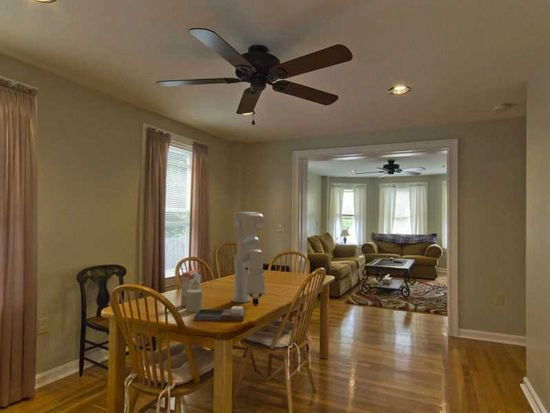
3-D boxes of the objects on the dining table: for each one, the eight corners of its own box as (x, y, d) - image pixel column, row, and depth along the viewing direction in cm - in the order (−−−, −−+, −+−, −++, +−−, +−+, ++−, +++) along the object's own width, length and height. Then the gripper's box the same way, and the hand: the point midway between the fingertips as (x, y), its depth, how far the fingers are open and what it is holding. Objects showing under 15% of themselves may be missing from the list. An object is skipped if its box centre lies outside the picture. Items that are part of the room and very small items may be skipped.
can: (202, 308, 210) (202, 288, 210) (201, 312, 201) (201, 291, 201) (186, 308, 209) (187, 288, 209) (185, 312, 199) (185, 291, 200)
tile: (232, 310, 194) (232, 306, 195) (243, 310, 195) (243, 306, 195) (231, 313, 188) (231, 308, 189) (242, 313, 189) (242, 309, 189)
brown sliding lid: (224, 313, 198) (224, 308, 198) (245, 314, 198) (245, 308, 199) (220, 320, 184) (221, 315, 184) (243, 321, 184) (243, 315, 185)
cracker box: (189, 307, 210) (189, 273, 211) (180, 306, 212) (181, 272, 212) (200, 302, 223) (201, 270, 224) (192, 301, 225) (193, 269, 226)
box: (199, 313, 198) (199, 308, 198) (223, 313, 198) (224, 309, 198) (194, 320, 184) (194, 315, 184) (220, 320, 184) (220, 316, 184)
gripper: (269, 271, 196) (269, 304, 195) (243, 271, 196) (242, 304, 195) (269, 273, 189) (268, 307, 188) (242, 273, 188) (241, 307, 187)
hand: (255, 305), depth 191 cm, fingers closed
